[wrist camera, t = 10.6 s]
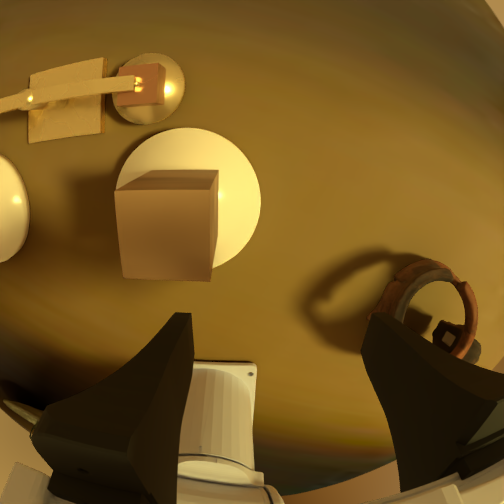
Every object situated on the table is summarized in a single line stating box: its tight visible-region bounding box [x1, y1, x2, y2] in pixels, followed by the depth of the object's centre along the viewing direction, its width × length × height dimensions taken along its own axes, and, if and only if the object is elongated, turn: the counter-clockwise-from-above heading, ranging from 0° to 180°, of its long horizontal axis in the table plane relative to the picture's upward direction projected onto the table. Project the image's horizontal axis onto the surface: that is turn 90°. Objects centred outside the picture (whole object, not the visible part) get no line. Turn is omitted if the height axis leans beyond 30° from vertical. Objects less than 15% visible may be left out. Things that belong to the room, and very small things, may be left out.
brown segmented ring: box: [367, 259, 481, 364], centre depth 21 cm, size 12×10×8 cm
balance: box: [0, 53, 186, 143], centre depth 13 cm, size 5×17×6 cm, turn 87°
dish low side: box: [116, 128, 261, 268], centre depth 19 cm, size 9×9×1 cm
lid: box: [3, 399, 44, 441], centre depth 25 cm, size 11×10×5 cm
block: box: [114, 170, 219, 282], centre depth 15 cm, size 4×4×6 cm
